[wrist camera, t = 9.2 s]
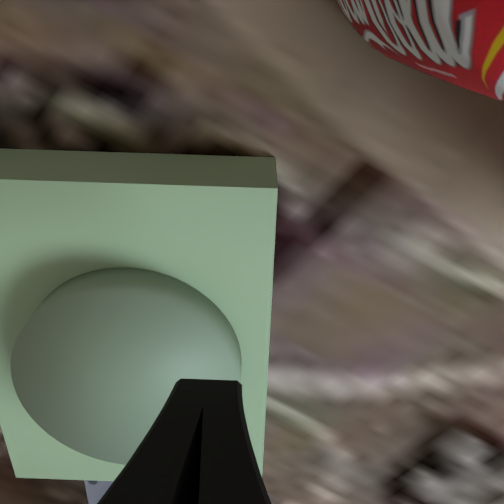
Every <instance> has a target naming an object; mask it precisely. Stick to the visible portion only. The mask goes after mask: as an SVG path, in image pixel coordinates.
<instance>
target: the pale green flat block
mask: <svg viewBox="0 0 504 504" xmlns="http://www.w3.org/2000/svg"><path fill="white" fill-rule="evenodd" d="M277 192H278V186H277V173H276V160H275V157H248V156H217V155H186V154H156V153H125V152H95V151H64V150H33V149H3V148H0V426H1V429H2V432H3V436H4V439H5V442H6V446H7V449H8V452H9V456H10V459H11V462H12V466H13V469H14V473H15V476H16V478H38V479H64V480H90V481H114V480H115V479H116V478H117V476H118V475H119V474H120V472H121V471H122V470H123V468H124V467H125V465H126V464H127V463H128V461H129V460H130V458H131V457H132V455H133V454H134V452H135V451H136V449H137V448H138V446H139V445H140V443H141V442H142V440H143V439H144V437H145V436H146V434H147V433H148V431H149V430H150V428H151V426H152V425H153V423H154V421H155V420H156V418H157V417H158V415H159V413H160V411H161V410H162V408H163V406H164V404H165V403H166V401H167V399H168V397H169V395H170V393H171V391H172V389H173V387H174V385H175V383H176V382H177V381H178V380H180V379H181V378H182V379H210V380H237V381H238V382H239V383H241V384H242V398H243V407H244V413H245V418H246V423H247V428H248V432H249V436H250V440H251V444H252V447H253V451H254V454H255V457H256V461H257V464H258V467H259V470H260V474H261V477H262V469H263V450H264V432H265V413H266V395H267V377H268V358H269V340H270V321H271V303H272V284H273V266H274V248H275V229H276V211H277Z"/></svg>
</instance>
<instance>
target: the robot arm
mask: <svg viewBox="0 0 504 504" xmlns="http://www.w3.org/2000/svg"><path fill="white" fill-rule="evenodd" d="M84 484H85V489H86V494H87V499H88V504H271V502H270V499H269V496H268V494H267V491H266V488H265V485H264V482H263V479H262V477H261V474H260V470H259V467H258V464H257V461H256V457H255V454H254V451H253V447H252V444H251V440H250V436H249V432H248V428H247V423H246V418H245V413H244V407H243V398H242V384H241V383H239V382H238V381H237V380H210V379H182V378H181V379H180V380H178V381H177V382H176V383H175V385H174V387H173V389H172V391H171V393H170V395H169V397H168V399H167V401H166V403H165V404H164V406H163V408H162V410H161V411H160V413H159V415H158V417H157V418H156V420H155V421H154V423H153V425H152V426H151V428H150V430H149V431H148V433H147V434H146V436H145V437H144V439H143V440H142V442H141V443H140V445H139V446H138V448H137V449H136V451H135V452H134V454H133V455H132V457H131V458H130V460H129V461H128V463H127V464H126V465H125V467H124V468H123V470H122V471H121V472H120V474H119V475H118V476H117V478H116V479H115V480H114V481H90V480H84Z"/></svg>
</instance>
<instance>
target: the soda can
mask: <svg viewBox="0 0 504 504" xmlns="http://www.w3.org/2000/svg"><path fill="white" fill-rule="evenodd" d="M337 1H338V3H339V5H340V7H341V9H342V11H343V13H344V15H345V16H346V18H347V19H348V20H349V22H350V23H351V24H352V26H353V27H354V28H355V30H356V31H357V32H358V33H359V34H360V35H361V36H362V37H363V38H364V39H365V40H366V41H367V42H368V43H369V44H370V45H371V46H372V47H374V48H375V49H377V50H378V51H380V52H381V53H383V54H384V55H386V56H387V57H389V58H391V59H393V60H396V61H398V62H400V63H403V64H405V65H407V66H409V67H412V68H414V69H416V70H419V71H421V72H424V73H426V74H429V75H431V76H434V77H436V78H439V79H441V80H444V81H447V82H449V83H452V84H454V85H457V86H460V87H462V88H465V89H468V90H471V91H474V92H477V93H479V94H482V95H485V96H488V97H491V98H494V99H497V100H501V101H504V0H337Z"/></svg>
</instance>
